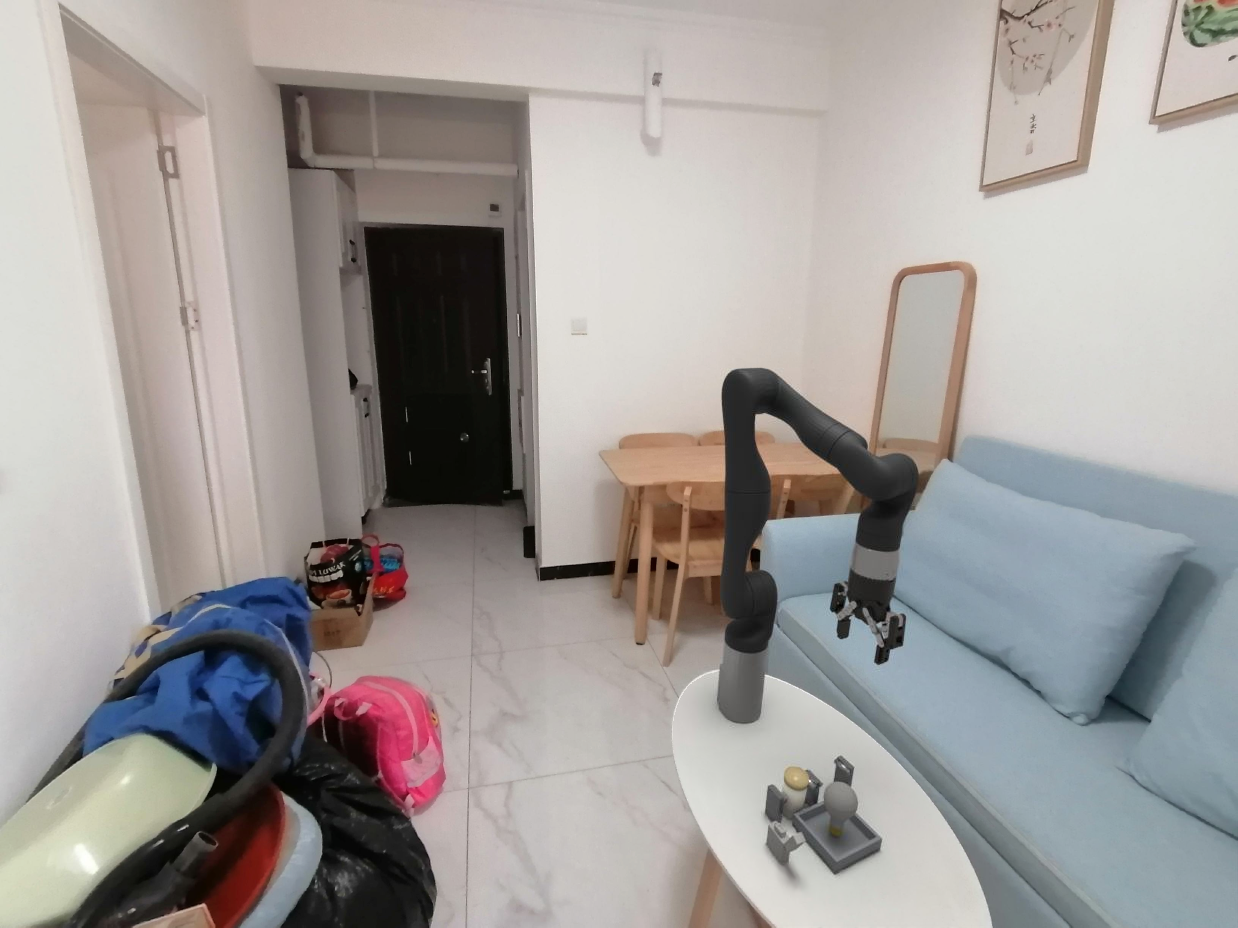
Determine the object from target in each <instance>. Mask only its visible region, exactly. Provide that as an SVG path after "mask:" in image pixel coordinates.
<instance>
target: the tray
mask: <svg viewBox="0 0 1238 928" xmlns="http://www.w3.org/2000/svg"><path fill="white" fill-rule="evenodd" d="M791 826H792V827H793V828H794V830H795V831H797V833H799V832H802V834H803V836H804V838H805V840H806V841H805V843H807V844H808V846H810V848H811V849H812V850H813V851H814V853H816V855H817V856H818V858H820V859H821V860H822V862H824V864H826V866H827V867H828V868H829V869H830V870H831V872H832V873H833V874H834V875H836V874H837V873H839V872H841V871H843V870H845V869H847V868H849V867H852V865H854V864H857V863H858V862H860V861H862V860H864V859H866V858H868V857H870V856H871V855H873V854H875V853H878V852H879V851H881V847H882V842H883V837H882V836H881V835H880V834H879V833H877V831H876V830H874V829H873V827H871V825H870V824H869V823H867V822H866V820H864V819H863V818H862V817H861V816H860V814H858V812H856V813H855V814H854V815H853V816H852V817H851V818H850V819H848V820H846V821H845V822H844V827H843V830H842V834H841V835H840V836H834V835H832V834H831V833H830V832H829V826H830V815H829V813H828V811H827V809H826V807H825V805H824V800H822V801H820V802H818V803H817V804H815V805H813V806H810V807H809V806H807V807H805V808H803V810H802V811H799V812H797V813H795V814H794V815H793V820H792V825H791Z"/></svg>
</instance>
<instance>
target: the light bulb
mask: <svg viewBox="0 0 1238 928" xmlns="http://www.w3.org/2000/svg"><path fill="white" fill-rule="evenodd" d="M822 799H823V800H822V801H824V805H825V807H826V809H827V811H828V813H829V815H830V826H829V832H830V833H831V834H832V835H834V836H840V835H841V834H842V830H843V827H844V822H845V821H846V820H848V819H850V818H851V817H852V816H853V815H854V814H855V813H857V811H858V807H859V800H858V796H857V794H856V792H855V790H854V789H853V788H852V786H851V787H850V786H849V785H847V784H845V783H843V782H834V781H833V782H831V783H829V784H828V785H827V786H826V787H825V789H824V791H823V797H822Z"/></svg>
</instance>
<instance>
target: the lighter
mask: <svg viewBox="0 0 1238 928" xmlns="http://www.w3.org/2000/svg"><path fill="white" fill-rule="evenodd" d="M765 842H766V843H765V845H766V847H767V848H768V849H769V851H770V852H771V853H772V855H773V856H774V857H775V859H776V860H777V862H779V864H780V865H783V864H786V863H788V862H789V860H790V855H791V852H794V851H796V850H797V849H799V848H800V847H801V846H802V845H804V843H806V840H805V838H804V836H803V834H802V832H799V833H798V832H797V833H795V834H792V835H791V836H789V835H788V834H787V829H785V827H784V826H783V824H782V822H781V823H778V822H777V821H774V822H772V821H771V822H769V823H768V825H767V835H766V841H765Z"/></svg>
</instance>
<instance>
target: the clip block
mask: <svg viewBox="0 0 1238 928" xmlns="http://www.w3.org/2000/svg"><path fill="white" fill-rule="evenodd" d="M833 763H834V765H835V769H834V776H833V782H843V783H845V784H847V785H849V786H850V787H851V788H852V783H853V779H854V778H853V777H854V771H855V766H854V765H852V763H850V761H848V760H847V759H846V758H845V757H844V756H842V755H838V756H837V757H836V758H835V759H833ZM804 770H805V771H806V772H807V774H808V775H809V784H808V787H807V791H806V797H805V802H804V804H806V805H807V807H810V806H813V805H815V804H817V803H819V802H818V801H819V794H820V788H822V787H823V785H824V783H823V781H821V780H820V778H818V777H817V776H816V775H815V774H814V773H813V772H812V770H810V769H808V768H807V769H804ZM786 801H787V798H786V797H785V796H784V795H783V794H782V791H781V790H780V789H779V788H778V786H776V785H775V784H771V783H770V785H767V789H766V799H765V805H764V806H765V807H764V815H765V816H766V817H768V819H769V820H770V821H771V822H774V821H777V822H778V823H781V824H782V819H783V815H782V813H783V805H784V803H785V802H786Z"/></svg>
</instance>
